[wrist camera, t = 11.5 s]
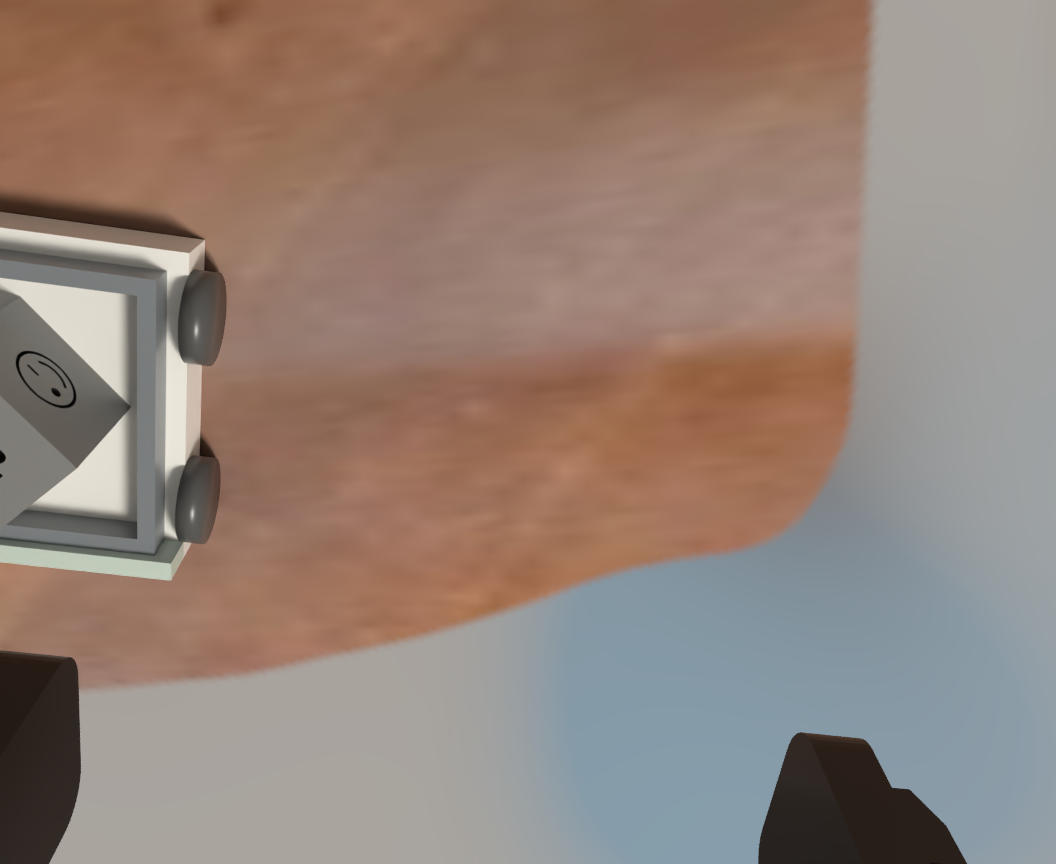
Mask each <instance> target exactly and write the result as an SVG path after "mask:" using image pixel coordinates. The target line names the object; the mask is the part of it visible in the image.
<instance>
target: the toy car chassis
mask: <svg viewBox="0 0 1056 864" xmlns="http://www.w3.org/2000/svg"><path fill="white" fill-rule="evenodd" d="M204 261H205V240H202V239H195V238H188V237H180V236H173V235H166V234H158V233H151V232H144V231H137V230H129V229H122V228H115V227H108V226H100V225H93V224H86V223H78V222H71V221H64V220H57V219H49V218H42V217H35V216H28V215H20V214H13V213H6V212H0V310H1V309H2V308H4V307H6V306H7V305H9V304H10V303H12V302H13V301H15V300H17V299H18V298H20V297H21V298H22V299H23V300H24V301H25V302H26V303H27V304H28V305H29V306H30V307H31V308H32V309H33V310H34V311H35V312H36V313H37V314H38V315H39V316H40V317H41V318H42V319H43V320H44V321H45V322H46V323H47V324H48V325H49V326H50V327H51V328H52V329H53V330H54V331H55V332H56V333H57V334H58V335H59V336H60V337H61V338H62V339H63V340H64V341H65V342H66V343H67V344H68V345H69V346H70V347H71V348H72V349H73V350H74V351H75V352H76V353H77V354H78V355H79V356H80V357H81V358H82V359H83V360H84V361H85V362H86V363H87V364H88V365H89V366H90V367H91V368H92V369H93V370H94V371H95V372H96V373H97V374H98V375H99V376H100V377H101V378H102V379H103V380H104V381H105V382H106V383H107V384H108V385H109V386H110V387H111V388H112V389H113V390H114V391H115V392H116V393H117V394H118V395H119V396H120V397H121V398H122V399H123V400H124V401H125V402H126V403H127V404H128V405H129V406H130V407H131V408H130V409H129V410H128V411H127V412H126V414H125V415H124V416H123V417H122V418H121V419H120V420H119V421H118V423H117V424H116V425H115V426H114V427H113V428H112V429H111V431H110V432H109V433H108V434H107V435H106V436H105V437H104V438H103V440H102V441H101V442H100V443H99V444H98V445H97V446H96V447H95V449H94V450H93V451H92V452H91V453H90V454H89V455H88V457H87V458H86V459H85V460H84V461H83V462H82V463H81V464H80V466H79V467H78V468H77V469H76V470H74V471H73V472H72V473H71V474H69V475H68V476H67V477H66V478H64V479H63V480H62V481H61V482H59V483H58V484H57V485H55V486H54V487H53V488H52V489H50V490H49V491H48V492H47V493H45V494H44V495H43V496H42V497H40V498H39V499H38V500H37V501H35V502H34V503H33V504H32V505H30V506H29V507H28V508H26V509H25V510H24V511H23V512H21V513H20V514H19V515H18V516H16V517H15V518H14V519H13V520H11V521H10V522H9V523H8V524H6V525H5V526H4V527H3V528H1V529H0V562H3V563H13V564H22V565H31V566H40V567H50V568H59V569H68V570H78V571H87V572H96V573H106V574H115V575H124V576H133V577H143V578H152V579H161V580H171V579H172V578H173V576H174V574H175V572H176V570H177V569H178V567H179V565H180V563H181V561H182V559H183V558H184V556H185V554H186V552H187V550H188V549H189V547H190V545H191V543H196V544H205V543H206V542H207V540H208V539H209V536H210V534H211V531H212V529H213V525H214V522H215V517H216V513H217V508H218V501H219V493H220V465H219V461H218V459H217V458H213V457H204V456H200V421H201V381H202V365H204V366H212V365H213V364H214V362H215V361H216V359H217V356H218V354H219V351H220V347H221V343H222V339H223V333H224V327H225V318H226V286H225V281H224V278H223V275H222V274H221V273H218V272H210V271H204Z"/></svg>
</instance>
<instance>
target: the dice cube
mask: <svg viewBox="0 0 1056 864" xmlns="http://www.w3.org/2000/svg"><path fill="white" fill-rule="evenodd" d="M130 408H131V407H130V406H129V405H128V404H127V403H126V402H125V401H124V400H123V399H122V398H121V397H120V396H119V395H118V394H117V393H116V392H115V391H114V390H113V389H112V388H111V387H110V386H109V385H108V384H107V383H106V382H105V381H104V380H103V379H102V378H101V377H100V376H99V375H98V374H97V373H96V372H95V371H94V370H93V369H92V368H91V367H90V366H89V365H88V364H87V363H86V362H85V361H84V360H83V359H82V358H81V357H80V356H79V355H78V354H77V353H76V352H75V351H74V350H73V349H72V348H71V347H70V346H69V345H68V344H67V343H66V342H65V341H64V340H63V339H62V338H61V337H60V336H59V335H58V334H57V333H56V332H55V331H54V330H53V329H52V328H51V327H50V326H49V325H48V324H47V323H46V322H45V321H44V320H43V319H42V318H41V317H40V316H39V315H38V314H37V313H36V312H35V311H34V310H33V309H32V308H31V307H30V306H29V305H28V304H27V303H26V302H25V301H24V300H23V299H22V298H21V297H20V298H18V299H17V300H15V301H13V302H12V303H10V304H9V305H7V306H6V307H4V308H2V309H1V310H0V529H1V528H3V527H4V526H5V525H6V524H8V523H9V522H10V521H11V520H13V519H14V518H15V517H16V516H18V515H19V514H20V513H21V512H23V511H24V510H25V509H26V508H28V507H29V506H30V505H32V504H33V503H34V502H35V501H37V500H38V499H39V498H40V497H42V496H43V495H44V494H45V493H47V492H48V491H49V490H50V489H52V488H53V487H54V486H55V485H57V484H58V483H59V482H61V481H62V480H63V479H64V478H66V477H67V476H68V475H69V474H71V473H72V472H73V471H74V470H76V469H77V468H78V467H79V466H80V464H81V463H82V462H83V461H84V460H85V459H86V458H87V457H88V455H89V454H90V453H91V452H92V451H93V450H94V449H95V447H96V446H97V445H98V444H99V443H100V442H101V441H102V440H103V438H104V437H105V436H106V435H107V434H108V433H109V432H110V431H111V429H112V428H113V427H114V426H115V425H116V424H117V423H118V421H119V420H120V419H121V418H122V417H123V416H124V415H125V414H126V412H127V411H128V410H129V409H130Z"/></svg>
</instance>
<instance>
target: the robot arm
mask: <svg viewBox="0 0 1056 864" xmlns="http://www.w3.org/2000/svg"><path fill="white" fill-rule="evenodd" d="M79 721H80V720H79V686H78V669H77V665H76V662H75V660H74V659H73V658H71V657H62V656H52V655H42V654H32V653H22V652H12V651H0V864H49V863H50V861H51V859H52V857H53V855H54V853H55V851H56V849H57V847H58V845H59V843H60V841H61V839H62V837H63V835H64V833H65V831H66V829H67V827H68V824H69V822H70V819H71V816H72V813H73V810H74V807H75V803H76V799H77V795H78V789H79V783H80V774H81V756H80V722H79ZM758 858H759V859H758V860H759V861H758V862H759V863H758V864H967V863H966V861H965V859H964V857H963V856H962V854H961V852H960V850H959V848H958V846H957V845H956V843H955V841H954V839H953V838H952V836H951V834H950V832H949V830H948V828H947V827H946V825H944V823H943V822H942V821H941V820H940V819H939V818H938V817H937V816H936V815H935V814H934V813H933V812H932V811H931V810H930V809H929V808H928V807H926V805H925V804H923V803H922V801H921V800H920V799H919V798H917V797H916V796H915V795H914V794H913V793H912V791H910V790H909V789H898V788H892V787H891V785H890V783H889V781H888V779H887V777H886V775H885V773H884V772H883V769H882V767H881V766H880V763H879V762H878V760H877V758H876V756H875V754H874V752H873V750H872V748H871V746H870V745H869V744H868V743H867V742H866V741H865V740H863V739H860V738H850V737H841V736H830V735H820V734H811V733H801V732H800V733H797V734H796V735H795V736H794V737H793V738H792V740H791V742H790V744H789V746H788V749H787V752H786V755H785V759H784V762H783V765H782V768H781V772H780V775H779V778H778V781H777V784H776V787H775V791H774V794H773V797H772V800H771V803H770V807H769V810H768V813H767V816H766V820H765V823H764V826H763V829H762V833H761V837H760V844H759V856H758Z"/></svg>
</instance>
